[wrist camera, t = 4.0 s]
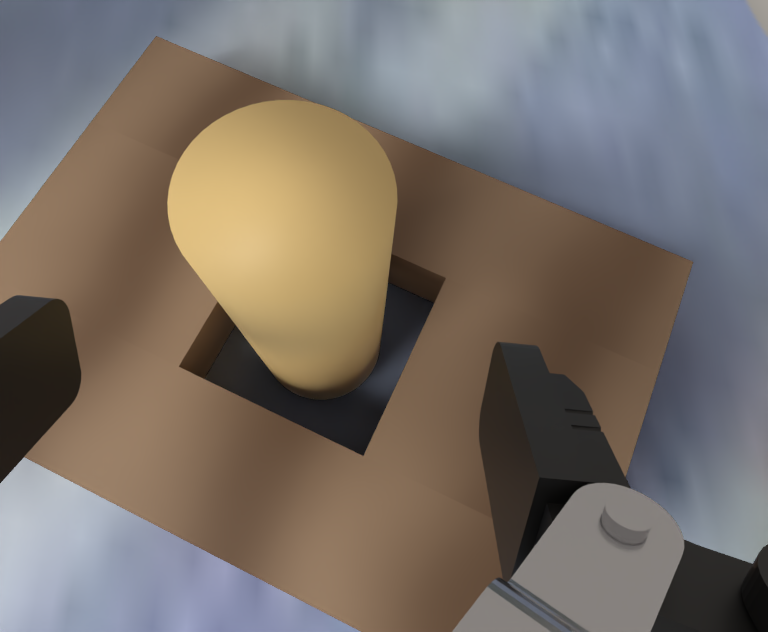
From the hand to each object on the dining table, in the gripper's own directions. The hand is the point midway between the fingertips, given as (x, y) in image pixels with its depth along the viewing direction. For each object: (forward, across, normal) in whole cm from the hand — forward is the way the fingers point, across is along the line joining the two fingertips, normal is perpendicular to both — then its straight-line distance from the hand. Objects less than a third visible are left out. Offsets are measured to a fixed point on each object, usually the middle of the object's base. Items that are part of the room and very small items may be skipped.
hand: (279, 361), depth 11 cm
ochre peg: (+8, 0, +4) cm, 9 cm away
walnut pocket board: (+8, 0, +4) cm, 9 cm away
